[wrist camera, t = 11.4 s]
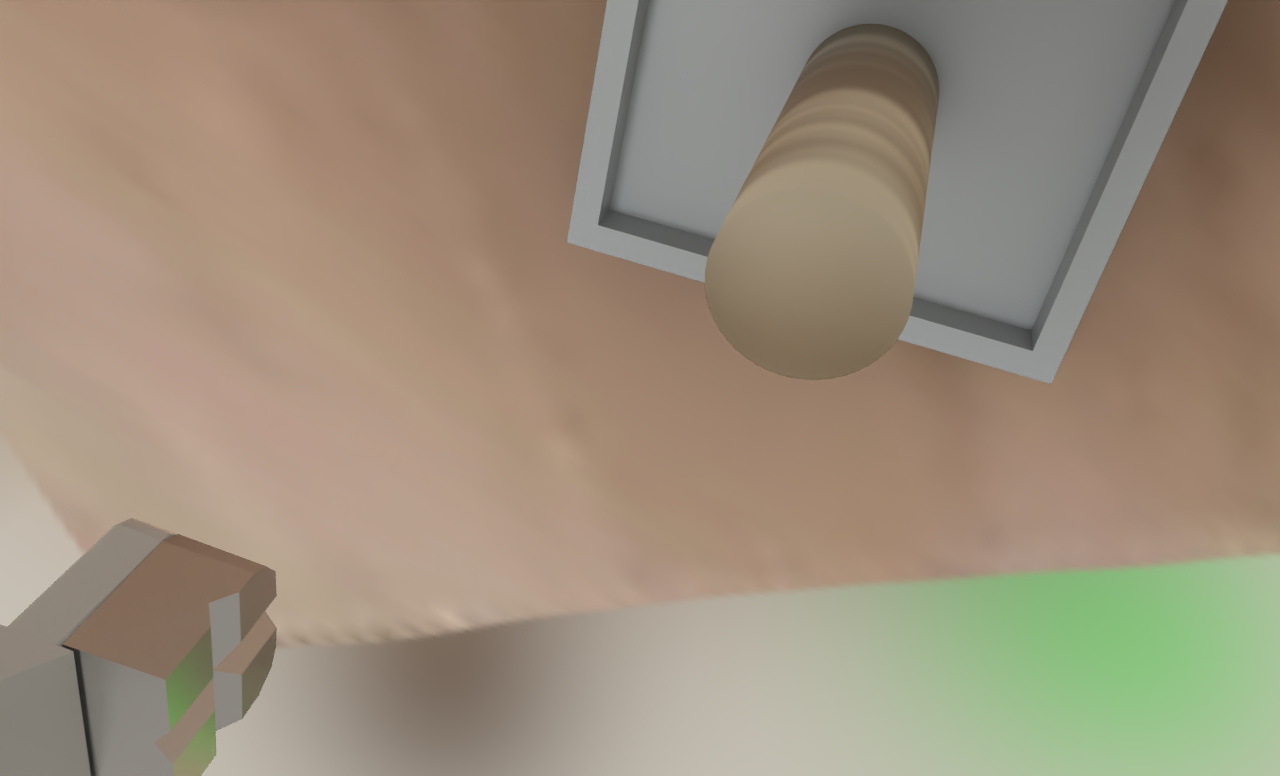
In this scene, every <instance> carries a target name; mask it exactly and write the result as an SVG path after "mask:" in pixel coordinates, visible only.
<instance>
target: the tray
mask: <svg viewBox="0 0 1280 776" xmlns="http://www.w3.org/2000/svg"><path fill="white" fill-rule="evenodd" d="M1227 1H1228V0H607V5H606V11H605V17H604V23H603V29H602V35H601V41H600V47H599V53H598V59H597V65H596V71H595V77H594V83H593V89H592V95H591V101H590V107H589V113H588V119H587V125H586V131H585V136H584V142H583V148H582V154H581V160H580V166H579V172H578V178H577V184H576V190H575V196H574V202H573V208H572V214H571V220H570V226H569V232H568V238H567V243H570V244H574V245H577V246H581V247H584V248H587V249H591V250H594V251H598V252H601V253H605V254H608V255H611V256H615V257H618V258H622V259H625V260H628V261H632V262H635V263H639V264H642V265H646V266H649V267H652V268H656V269H659V270H663V271H666V272H669V273H673V274H676V275H680V276H683V277H687V278H690V279H693V280H697V281H700V282H704V283H705V268H706V262H707V258H708V255H709V252H710V249H711V246H712V244H713V242H714V240H715V238H716V236H717V234H718V232H719V231H720V229H721V227H722V225H723V223H724V221H725V219H726V217H727V215H728V213H729V211H730V209H731V207H732V205H733V204H734V202H735V200H736V198H737V196H738V194H739V192H740V190H741V188H742V186H743V184H744V182H745V180H746V178H747V177H748V175H749V173H750V171H751V169H752V167H753V165H754V163H755V161H756V159H757V157H758V155H759V153H760V151H761V150H762V148H763V146H764V144H765V142H766V140H767V138H768V136H769V134H770V132H771V130H772V128H773V126H774V124H775V123H776V121H777V119H778V117H779V115H780V113H781V111H782V109H783V107H784V105H785V103H786V101H787V99H788V97H789V96H790V94H791V92H792V90H793V88H794V86H795V84H796V82H797V80H798V78H799V76H800V74H801V72H802V70H803V69H804V67H805V65H806V63H807V61H808V59H809V58H810V56H811V55H812V53H813V52H814V51H815V49H816V48H817V47H818V46H819V45H820V44H821V43H822V42H823V41H824V40H826V39H827V38H828V37H830V36H831V35H833V34H834V33H836V32H838V31H840V30H842V29H845V28H848V27H851V26H855V25H860V24H882V25H887V26H891V27H894V28H897V29H899V30H901V31H903V32H905V33H907V34H908V35H910V36H911V37H913V38H914V39H915V40H916V41H918V42H919V43H920V44H921V45H922V46H923V48H924V49H925V50H926V51H927V53H928V54H929V56H930V57H931V59H932V61H933V63H934V66H935V68H936V71H937V75H938V80H939V101H938V109H937V117H936V125H935V132H934V140H933V148H932V156H931V164H930V171H929V179H928V187H927V195H926V203H925V210H924V218H923V226H922V234H921V242H920V249H919V257H918V265H917V273H916V280H915V288H914V296H913V304H912V309H911V312H910V316H909V319H908V321H907V323H906V326H905V328H904V330H903V331H902V333H901V335H900V336H899V338H898V339H899V340H902V341H905V342H909V343H912V344H916V345H919V346H922V347H926V348H929V349H933V350H936V351H940V352H943V353H946V354H950V355H953V356H957V357H960V358H963V359H967V360H970V361H974V362H977V363H981V364H984V365H987V366H991V367H994V368H998V369H1001V370H1005V371H1008V372H1011V373H1015V374H1018V375H1022V376H1025V377H1028V378H1032V379H1035V380H1039V381H1042V382H1046V383H1049V384H1051V383H1052V381H1053V379H1054V377H1055V374H1056V372H1057V370H1058V368H1059V366H1060V364H1061V361H1062V359H1063V357H1064V355H1065V353H1066V351H1067V348H1068V346H1069V344H1070V342H1071V340H1072V338H1073V335H1074V333H1075V331H1076V329H1077V327H1078V324H1079V322H1080V320H1081V318H1082V316H1083V314H1084V311H1085V309H1086V307H1087V305H1088V303H1089V301H1090V298H1091V296H1092V294H1093V292H1094V290H1095V288H1096V285H1097V283H1098V281H1099V279H1100V277H1101V275H1102V272H1103V270H1104V268H1105V266H1106V264H1107V262H1108V259H1109V257H1110V255H1111V253H1112V251H1113V249H1114V246H1115V244H1116V242H1117V240H1118V238H1119V236H1120V233H1121V231H1122V229H1123V227H1124V225H1125V223H1126V220H1127V218H1128V216H1129V214H1130V212H1131V210H1132V207H1133V205H1134V203H1135V201H1136V199H1137V197H1138V194H1139V192H1140V190H1141V188H1142V186H1143V184H1144V181H1145V179H1146V177H1147V175H1148V173H1149V171H1150V168H1151V166H1152V164H1153V162H1154V160H1155V157H1156V155H1157V153H1158V151H1159V149H1160V147H1161V144H1162V142H1163V140H1164V138H1165V136H1166V134H1167V131H1168V129H1169V127H1170V125H1171V123H1172V121H1173V118H1174V116H1175V114H1176V112H1177V110H1178V108H1179V105H1180V103H1181V101H1182V99H1183V97H1184V95H1185V92H1186V90H1187V88H1188V86H1189V84H1190V82H1191V79H1192V77H1193V75H1194V73H1195V71H1196V69H1197V66H1198V64H1199V62H1200V60H1201V58H1202V56H1203V53H1204V51H1205V49H1206V47H1207V45H1208V43H1209V40H1210V38H1211V36H1212V34H1213V32H1214V30H1215V27H1216V25H1217V23H1218V21H1219V19H1220V17H1221V14H1222V12H1223V10H1224V8H1225V6H1226V4H1227Z"/></svg>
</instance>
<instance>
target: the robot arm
mask: <svg viewBox="0 0 1280 776" xmlns="http://www.w3.org/2000/svg"><path fill="white" fill-rule="evenodd" d="M276 596H277V593H276V572H275V571H274V570H272V569H270V568H268V567H266V566H264V565H261V564H258V563H255V562H253V561H250V560H247V559H245V558H242V557H239V556H236V555H234V554H231V553H228V552H225V551H223V550H220V549H217V548H215V547H212V546H209V545H206V544H204V543H201V542H198V541H196V540H193V539H190V538H187V537H185V536H182V535H179V534H175V533H172V532H170V531H167V530H164V529H161V528H158V527H155V526H153V525H150V524H147V523H144V522H141V521H139V520H136V519H133V518H131V519H129V520H126V521H124V522H121V523H119V524H117V525H115V526H113V527H112V528H111V529H110V530H109V531H108V532H107V533H106V534H105V535H104V536H103V537H102V538H101V539H100V540H99V541H97V542H96V543H95V544H94V545H93V546H92V547H91V548H90V549H89V550H88V551H87V552H86V553H85V554H84V555H83V556H82V557H81V558H80V559H78V561H76V562H75V563H74V564H73V565H72V566H71V567H70V568H69V569H68V570H67V571H66V572H65V573H64V574H63V575H62V576H61V577H60V578H59V579H57V581H55V582H54V583H53V584H52V585H51V586H50V587H49V588H48V589H47V590H46V591H45V592H44V593H43V594H42V595H41V596H40V597H39V598H37V599H36V600H35V601H34V602H33V603H32V604H31V605H30V606H29V607H28V608H27V609H26V610H25V611H24V612H23V613H22V614H21V615H19V616H18V618H16V619H15V620H14V621H13V622H12V623H11V624H10V625H9V626H8V627H6V626H2V625H0V776H201V775H202V773H203V772H204V771H205V769H206V768H207V767H208V765H209V764H210V763H211V761H212V760H213V758H214V757H215V756H216V732H215V731H217V730H219V729H221V728H223V727H225V726H228V725H230V724H232V723H234V722H236V721H239V720H241V719H242V718H243V717H244V715H245V714H246V713H247V711H248V710H249V709H250V707H251V705H252V704H253V703H254V701H255V700H256V698H257V697H258V696H259V693H260V691H261V689H262V687H263V684H264V683H265V680H266V678H267V676H268V674H269V671H270V669H271V666H272V662H273V658H274V653H275V649H276V631H277V628H276V627H275V625H274V624H273V622H272V621H271V619H270V618H269V616H268V615H267V613H266V612H265V610H266V609H267V608H268V606H269V605H270V604H271V602H272V601H273V600H274V599H275V597H276Z"/></svg>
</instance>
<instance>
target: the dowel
mask: <svg viewBox="0 0 1280 776" xmlns="http://www.w3.org/2000/svg"><path fill="white" fill-rule="evenodd" d="M938 101H939V80H938V75H937V71H936V68H935V66H934V63H933V61H932V59H931V57H930V56H929V54H928V53H927V51H926V50H925V49H924V48H923V46H922V45H921V44H920V43H919V42H918V41H916V40H915V39H914V38H913V37H911V36H910V35H908V34H907V33H905V32H903V31H901V30H899V29H897V28H894V27H891V26H887V25H882V24H860V25H855V26H851V27H848V28H845V29H842V30H840V31H838V32H836V33H834V34H833V35H831V36H830V37H828V38H827V39H826V40H824V41H823V42H822V43H821V44H820V45H819V46H818V47H817V48H816V49H815V51H814V52H813V53H812V55H811V56H810V58H809V59H808V61H807V63H806V65H805V67H804V69H803V70H802V72H801V74H800V76H799V78H798V80H797V82H796V84H795V86H794V88H793V90H792V92H791V94H790V96H789V97H788V99H787V101H786V103H785V105H784V107H783V109H782V111H781V113H780V115H779V117H778V119H777V121H776V123H775V124H774V126H773V128H772V130H771V132H770V134H769V136H768V138H767V140H766V142H765V144H764V146H763V148H762V150H761V151H760V153H759V155H758V157H757V159H756V161H755V163H754V165H753V167H752V169H751V171H750V173H749V175H748V177H747V178H746V180H745V182H744V184H743V186H742V188H741V190H740V192H739V194H738V196H737V198H736V200H735V202H734V204H733V205H732V207H731V209H730V211H729V213H728V215H727V217H726V219H725V221H724V223H723V225H722V227H721V229H720V231H719V232H718V234H717V236H716V238H715V240H714V242H713V244H712V246H711V249H710V252H709V255H708V258H707V262H706V268H705V292H706V298H707V302H708V306H709V309H710V312H711V314H712V317H713V319H714V321H715V323H716V324H717V326H718V328H719V330H720V331H721V333H722V334H723V335H724V337H725V338H726V339H727V341H728V342H729V343H730V344H731V345H732V346H733V347H734V348H735V349H736V350H737V351H738V352H740V353H741V354H742V355H743V356H744V357H746V358H747V359H749V360H750V361H752V362H753V363H755V364H756V365H758V366H760V367H762V368H764V369H766V370H768V371H771V372H774V373H777V374H779V375H783V376H787V377H791V378H798V379H806V380H821V379H831V378H836V377H841V376H845V375H848V374H851V373H853V372H856V371H859V370H861V369H863V368H864V367H866V366H868V365H870V364H871V363H873V362H874V361H876V360H877V359H879V358H880V357H881V356H882V355H883V354H885V353H886V352H887V351H888V350H889V349H890V348H891V347H892V345H893V344H894V343H895V342H896V341H897V339H898V338H899V336H900V335H901V333H902V331H903V330H904V328H905V326H906V323H907V321H908V319H909V316H910V312H911V309H912V304H913V296H914V288H915V280H916V273H917V265H918V257H919V249H920V242H921V234H922V226H923V218H924V210H925V203H926V195H927V187H928V179H929V171H930V164H931V156H932V148H933V140H934V132H935V125H936V117H937V109H938Z"/></svg>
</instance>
